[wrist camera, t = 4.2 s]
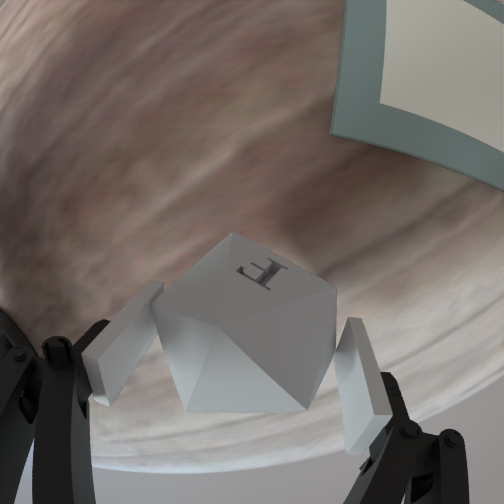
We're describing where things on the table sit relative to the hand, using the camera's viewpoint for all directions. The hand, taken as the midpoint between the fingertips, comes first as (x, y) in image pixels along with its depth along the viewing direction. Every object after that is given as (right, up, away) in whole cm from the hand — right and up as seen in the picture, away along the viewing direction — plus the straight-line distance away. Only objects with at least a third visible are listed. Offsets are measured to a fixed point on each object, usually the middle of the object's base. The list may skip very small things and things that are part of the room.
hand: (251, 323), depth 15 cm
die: (0, +1, +3) cm, 3 cm away
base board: (+14, +17, -1) cm, 22 cm away
